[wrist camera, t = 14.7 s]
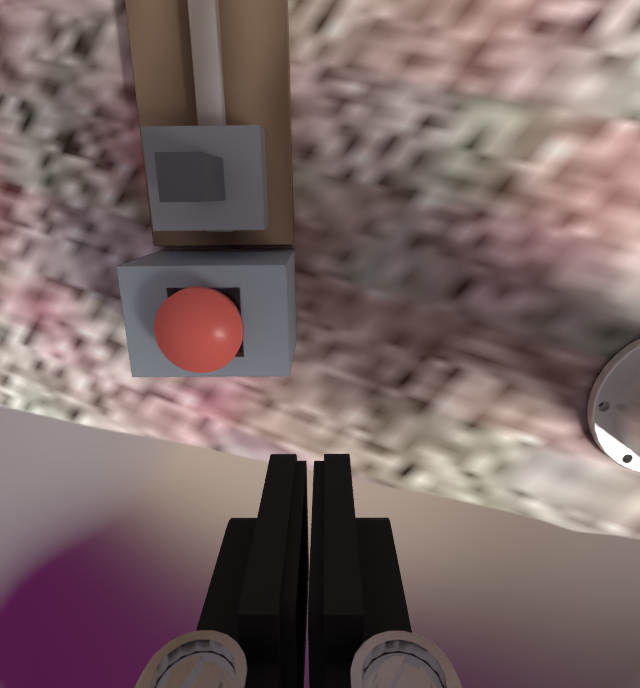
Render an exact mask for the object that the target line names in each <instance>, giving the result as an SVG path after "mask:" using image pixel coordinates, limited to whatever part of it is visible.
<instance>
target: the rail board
mask: <svg viewBox="0 0 640 688" xmlns="http://www.w3.org/2000/svg"><path fill="white" fill-rule="evenodd" d="M125 7H126V15H127V23H128V32H129V40H130V49H131V57H132V66H133V74H134V83H135V91H136V100H137V108H138V117H139V125H140V134H141V142H142V150H143V159H144V167H145V176H146V184H147V193H148V201H149V210H150V218H151V227H152V235H153V244H154V246H184V245H290V244H294V211H293V174H292V137H291V99H290V62H289V25H288V0H125ZM227 125H260V126H261V127H262V128H263V129H264V130H265V150H266V173H267V196H268V219H269V227H268V228H267V229H265V230H203V231H153V224H152V215H151V207H150V198H149V190H148V181H147V173H146V164H145V156H144V147H143V138H142V130H141V127H150V126H227Z"/></svg>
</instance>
